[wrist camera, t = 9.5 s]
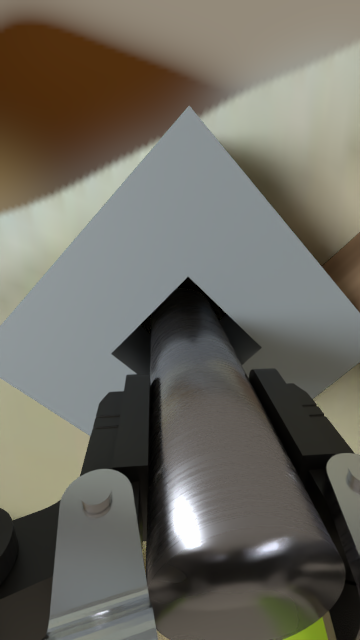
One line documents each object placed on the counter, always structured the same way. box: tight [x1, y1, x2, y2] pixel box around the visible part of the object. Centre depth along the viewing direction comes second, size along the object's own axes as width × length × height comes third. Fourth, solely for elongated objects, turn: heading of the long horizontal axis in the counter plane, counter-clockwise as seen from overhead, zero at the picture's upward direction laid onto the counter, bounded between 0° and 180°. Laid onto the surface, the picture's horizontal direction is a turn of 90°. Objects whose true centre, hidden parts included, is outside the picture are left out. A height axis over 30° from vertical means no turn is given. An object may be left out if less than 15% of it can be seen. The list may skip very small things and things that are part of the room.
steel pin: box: [146, 288, 345, 640], centre depth 10 cm, size 3×3×12 cm
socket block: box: [0, 106, 360, 436], centre depth 15 cm, size 12×12×5 cm
